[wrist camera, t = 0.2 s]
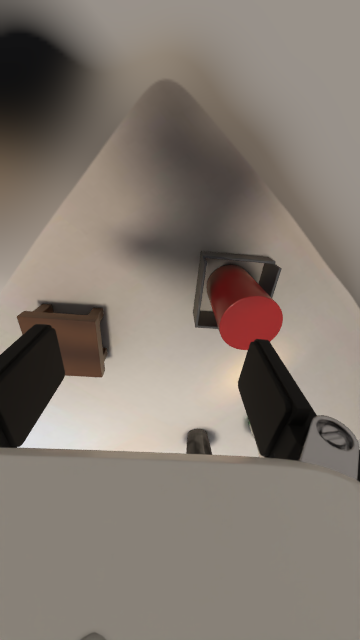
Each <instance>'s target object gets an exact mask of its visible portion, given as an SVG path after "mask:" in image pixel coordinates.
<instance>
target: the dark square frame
mask: <svg viewBox="0 0 360 640" xmlns="http://www.w3.org/2000/svg"><path fill="white" fill-rule="evenodd" d="M205 258H211V259H223V260H235V261H246V262H258V263H264V267H263V271H262V274H261V278H260V281H259V285H260V286H261V287H262V288H263V289H264V291H265V292H266V293H267V294H268V295H269V296H270V297H271V298H272V296H273V293H274V290H275V287H276V284H277V281H278V278H279V275H280V272H281V268H280V267H279V266H277V265H276V264H275V261H274V260H272V259H271V258H269V257H263V256H251V255H240V254H228V253H216V252H205V251H201V256H200V263H199V271H198V279H197V286H196V294H195V302H194V309H193V315H194V322H195V327H198V328H213V329H219V328H218V325H217V322H216V319H215V316H214V313H213V312H205V311H200V306H201V299H202V293H203V286H204V279H205V272H206V266H207V261H206V259H205Z"/></svg>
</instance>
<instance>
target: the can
mask: <svg viewBox="0 0 360 640" xmlns="http://www.w3.org/2000/svg"><path fill="white" fill-rule="evenodd" d="M206 288H207V294H208V297H209V300H210V303H211V306H212V310H213V313H214V316H215V319H216V322H217V325H218V328H219V331H220V334H221V337H222V339H223V340H224V341H225V342H226V343H227V344H228V345H230V346H231V347H233V348H236V349H241V350H248V348H249V345H250V343H251V342H254V340H255V339H265V340H268V341H269V342H270V341H271V340H272V339H273V338H274V337H275V336H276V335H277V334H278V332H279V331H280V328H281V326H282V321H283V315H282V311H281V309H280V307H279V306H278V304H277V303H276V302H275V301H274V300H273V299H272V298H271V297H270V296H269V295H268V294H267V293H266V292H265V291H264V289H263V288H262V287H261V286H260V285H259V284H258V283H257V282H256V281H255V280H254V279H253V278H252V277H251V276H250V275H249V274H248V273H247V272H246V271H245V270H244V269H243V268H242V267H240V266H237V265H225V266H222V267H220V268H218V269H217V270H215V271H214V272H213V273H212V274H211V276H210V277H209V279H208V282H207V287H206Z"/></svg>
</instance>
